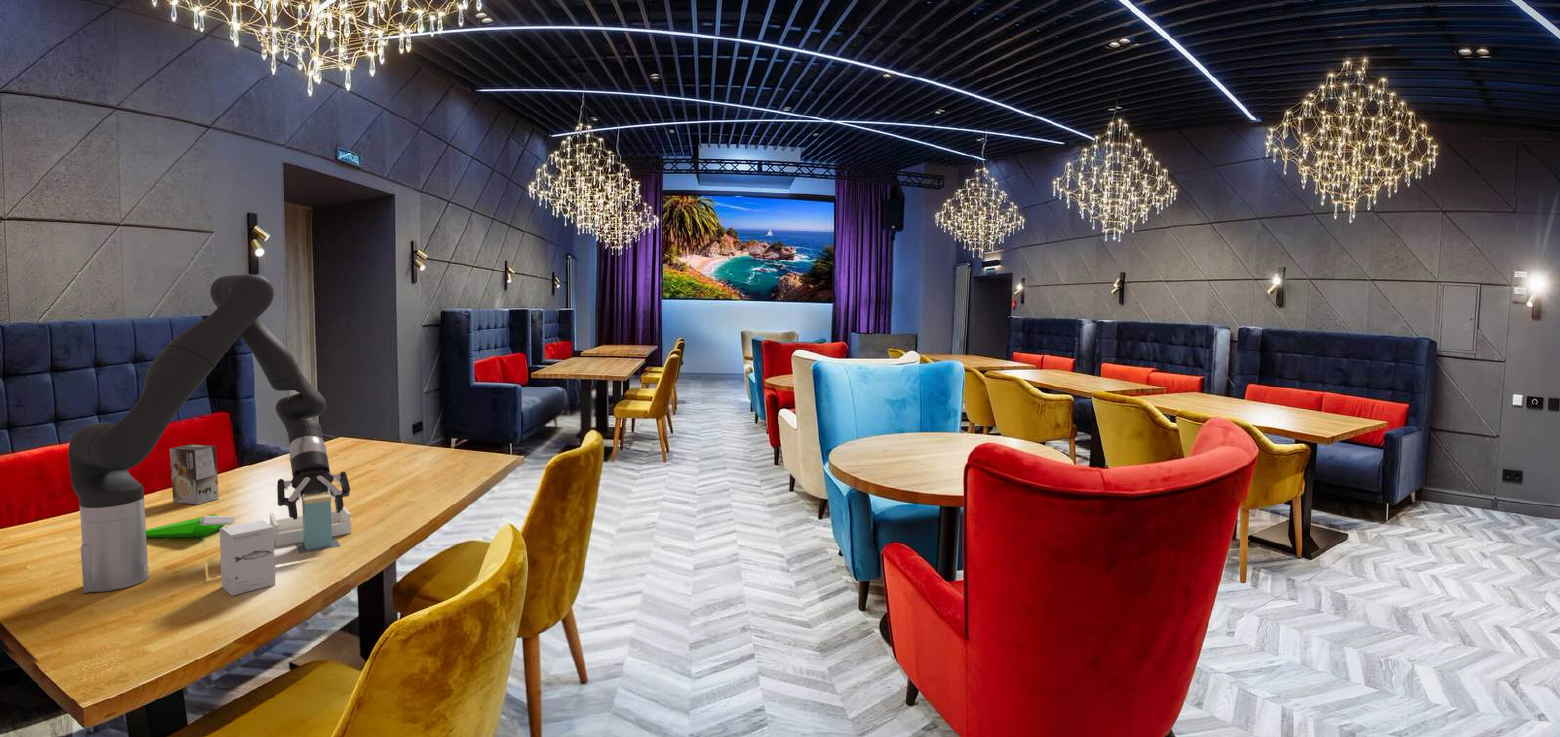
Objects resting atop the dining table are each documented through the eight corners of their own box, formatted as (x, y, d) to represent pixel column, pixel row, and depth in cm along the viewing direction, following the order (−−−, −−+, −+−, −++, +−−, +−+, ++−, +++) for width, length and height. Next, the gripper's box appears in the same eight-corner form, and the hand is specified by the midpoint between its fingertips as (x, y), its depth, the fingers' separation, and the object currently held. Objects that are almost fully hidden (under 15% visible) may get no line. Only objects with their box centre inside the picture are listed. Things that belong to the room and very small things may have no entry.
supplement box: (231, 597, 130) (228, 535, 129) (221, 587, 134) (218, 527, 133) (276, 585, 136) (274, 526, 134) (265, 576, 140) (262, 518, 139)
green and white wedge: (86, 554, 154) (203, 535, 157) (86, 531, 155) (203, 513, 158) (127, 551, 165) (235, 534, 168) (127, 530, 166) (235, 513, 169)
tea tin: (306, 550, 154) (304, 500, 153) (303, 544, 157) (301, 495, 156) (332, 545, 157) (331, 496, 156) (329, 539, 161) (327, 491, 160)
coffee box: (220, 498, 193) (217, 445, 192) (197, 505, 187) (195, 450, 186) (194, 496, 195) (191, 443, 193) (171, 502, 189) (168, 448, 187)
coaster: (299, 555, 151) (299, 553, 151) (295, 546, 157) (295, 543, 157) (340, 548, 157) (340, 545, 157) (334, 539, 163) (334, 536, 163)
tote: (276, 548, 156) (275, 526, 155) (270, 534, 165) (269, 512, 165) (351, 535, 166) (350, 514, 165) (341, 522, 176) (341, 502, 175)
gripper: (273, 453, 156) (281, 511, 148) (344, 446, 166) (354, 500, 158) (272, 470, 160) (279, 528, 153) (341, 463, 170) (351, 516, 162)
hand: (317, 514), depth 155 cm, fingers open, 8 cm apart
